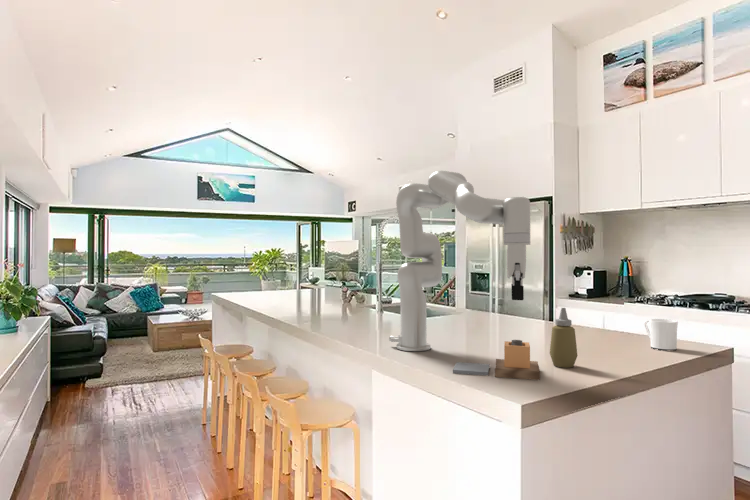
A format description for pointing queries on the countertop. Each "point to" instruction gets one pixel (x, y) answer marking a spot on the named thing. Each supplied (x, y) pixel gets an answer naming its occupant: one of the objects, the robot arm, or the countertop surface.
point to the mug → (662, 333)
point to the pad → (471, 368)
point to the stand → (516, 372)
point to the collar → (517, 355)
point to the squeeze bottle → (563, 342)
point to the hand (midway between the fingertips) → (517, 298)
